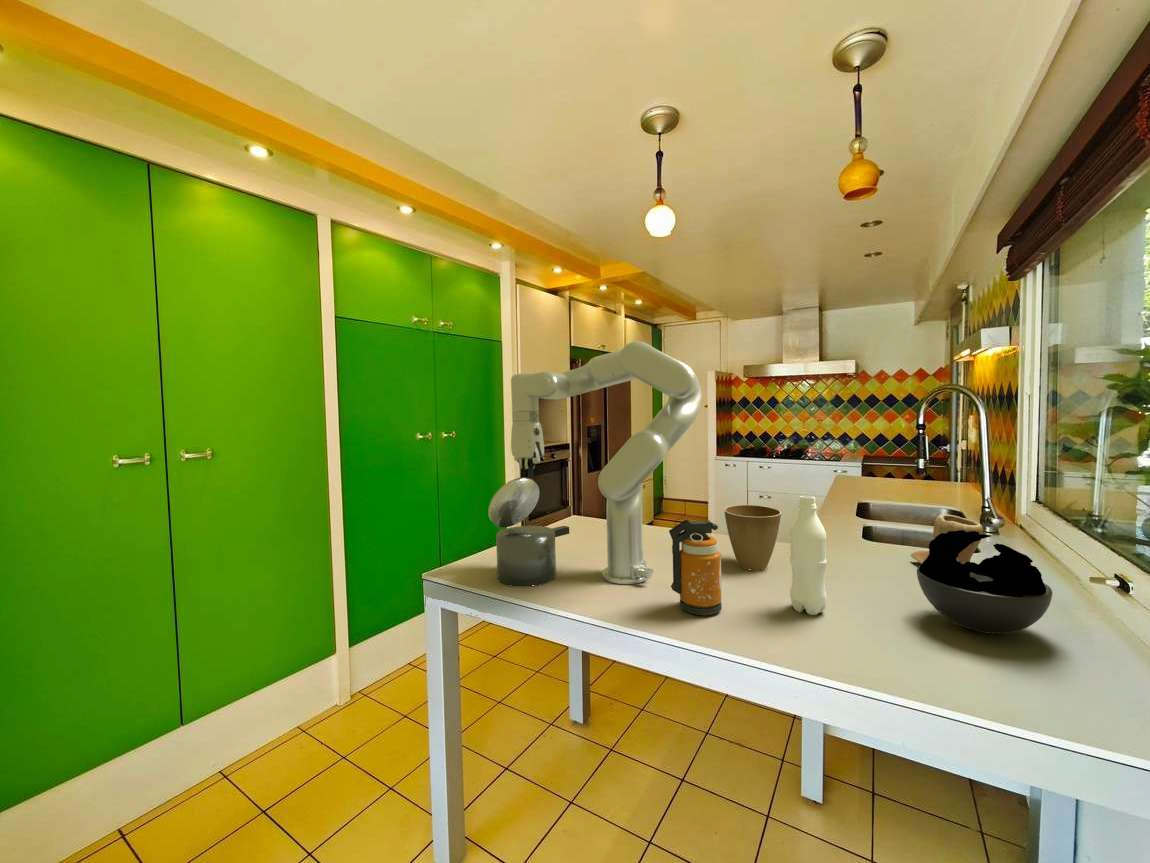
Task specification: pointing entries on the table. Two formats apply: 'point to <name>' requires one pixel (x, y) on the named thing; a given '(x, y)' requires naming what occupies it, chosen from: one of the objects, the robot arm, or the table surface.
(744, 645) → the table surface
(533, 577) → the cooker pot
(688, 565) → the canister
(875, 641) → the table surface
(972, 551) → the stone cup
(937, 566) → the coal bowl
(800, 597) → the water bottle
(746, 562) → the plant pot
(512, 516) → the lid
